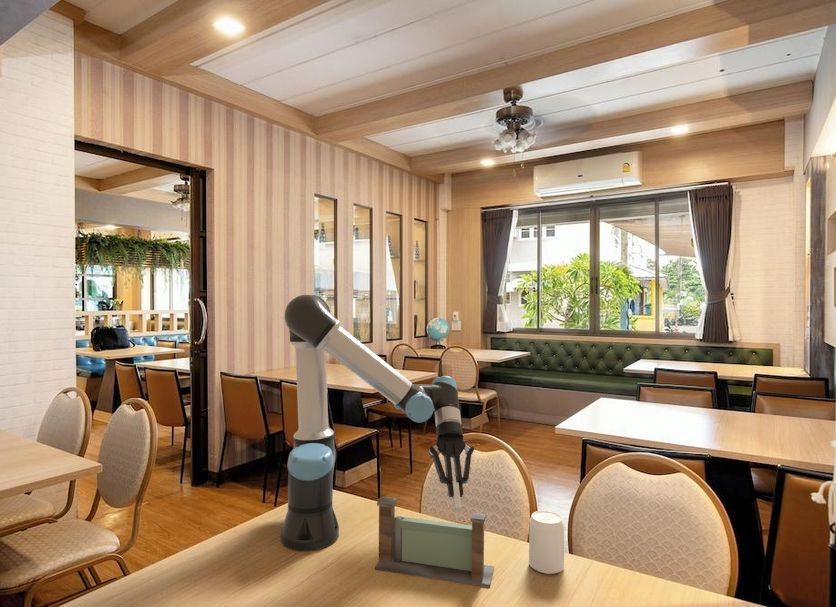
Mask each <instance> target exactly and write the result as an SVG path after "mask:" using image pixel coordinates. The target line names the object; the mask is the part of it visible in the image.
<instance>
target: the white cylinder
mask: <svg viewBox="0 0 836 607" xmlns="http://www.w3.org/2000/svg"><path fill="white" fill-rule="evenodd" d="M528 528H529V529H528V530H529V531H528V532H529V536H528V538H529V539H528V541H529V542H528V543H529V544H528V547H529V548H528V563H529V566H530V567H531V568H532V569H533V570H535V571H536V572H539V573H541V574H546V575H554V574H559V573H560V572H563V570H564V568H565V522H564V520H563V517H562V516H561V515H560V514H559V513H557V512H553V511H549V510H537V511H534V512H533V513H532V514H531V516H530V518H529V526H528Z"/></svg>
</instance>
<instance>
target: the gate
mask: <svg viewBox="0 0 836 607" xmlns="http://www.w3.org/2000/svg"><path fill="white" fill-rule="evenodd" d="M394 560H396V561H407V562H414V563H420V564H427V565H434V566H440V567H447V568H454V569H460V570H467V571H472V524H461V523H453V522H447V521H446V522H445V521H439V520H438V521H437V520H431V519H425V518H424V519H423V518H414V517H407V516H402V515H401V516H400V515H397V516H395V523H394Z"/></svg>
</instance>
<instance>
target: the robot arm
mask: <svg viewBox="0 0 836 607" xmlns="http://www.w3.org/2000/svg"><path fill="white" fill-rule="evenodd" d="M284 321H285V324H286V326H287V328H288V330H289V343H290V344H291V345H292V346H294V348H295V368H296V369H295V370H296V374H295V375H296V394H297V397H296V398H297V421H298V422H297V423H298V429H297V430H296V432H295V433H294V434H293V449H292V450H291V451H290V452H289V454H288V459H287V464H286V465H287V472H288V474H287V481H288V482H287V511H286V514H285V519H284V520H283V524H282V527H281V530H280V542H281V544H282V545H283V546H284V547H285V548H287V549H291V550H294V551H301V552H302V551H303V552H305V551H306V552H307V551H314V550H320V549H324V548H326V547H329V546H330V545H332V544H334V543H335V542H336V541H337V540H338V538H339V535H340V533H339V532H340V525H339V523H338V519H337V515H336V513H335V511H334V506H333V497H334V496H333V493H334V492H333V485H334V484H333V482H334V481H333V480H334V479H333V478H334V471H335V470H334V468H335V463H336V459H337V450H336V447H335V434H334V433H335V432H334V430H333V429H332V428H331V427H330V426H329V411H328V410H329V409H328V405H329V404H328V383H327V382H328V381H327V380H328V378H327V359H326V358H327V357H326V356H327V354H326V353H328V354H329V355H331V357H333V358H334V359H336V361H338V362H339V363H340V364H341V365H343V366H344V367H345V368H347V369H348V370H350V371H351V372H352V373H353V374H354V375H356V376H358V377H359V378H360V379H361V380H363V382H365V383H367V385H369V386H370V387H372V388H373V389H374V390H375V391H376V392H378V393H379V394H380V395H382V397H385V398H386V399H387V400H388V401H389V402H391V403H392V404H393V406H394V408H395V409H396V410H401V411H402V412H403V413H404V414H406V416H407V418H409V419H410V420H411V421H413V422H415V423H424V422H426V421H428V420H429V419H430V418H431V417H432V415H433V413H434V420H435V427H436V428H435V431H436V443H435V445H433V446H430V447H429V448H428V454H429V456H430V457H431V458H432V461H433V464H434V467H435V470H436V473H437V476H438V479H439V482H440V484H444V485H446V487H447V494H448V497H449V498H452V507H453V508H452V509H453V512H460V511H461V508H462V501H461V500H462V499H461V498H463V495H464V486H463V485H464V484H467V482H468V481H469V478H470V470H471V469H470V468H471V464H472V463H471V461H472V455H473V453H474V451H475V447H474V446H469V445H467V444H466V441H465V439H464V433H463V426H462V416H461V411H460V402H459V390H458V386H457V382H456V380H455V379H454V377H451V376H449V375H441V377H440V376H438V377H435V378H434V379H433V380H432V382H431V383H430V384H426V383H423V384H422V383H421V384H420V383H412V381H410V380H409V379H408V378H406V377H405V376H404V375H402V374H401V373H400V372H399V371H397V370H396V369H395V368H394V367H393V366H391V365H390V364H388V363H387V362H386V361H385V360H383V359H382V358H381V357H380V356H378V355H377V354H376V353H374V352H373V351H372V350H371V349H370V348H368V347H367V346H366V345H365V344H363V343H362V342H361V341H359V340H358V339H357V338H355V337H354V336H353V335H352V334H351V333H350V332H348V331H347V330H345V329H344V327H342V326H341V322H340V320H339V319H338V318H337V317H335V316H334V314H332V313H331V310H330V306H329V305H328V303H327V302H326V300H324V299H323V298H322V297H320V296H319V295H316V294H301V295H298V296H296V297H294V298H292V300H290V301H289V302H288V304H287V305H286V307H285V311H284ZM463 451H464V454H465V460H464V467H463V474H462V465H461V455H462V453H463ZM438 452H439V453H440V454H441V455H442V456H443V459H444V465H445V469H444V468H443V463H442V461H441V459H440V455H439V453H438ZM452 460H453V465H454V474H455V476H454V477H455V482H454V479H453V468H452ZM444 470H445V471H444Z"/></svg>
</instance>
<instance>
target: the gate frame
mask: <svg viewBox="0 0 836 607" xmlns="http://www.w3.org/2000/svg"><path fill="white" fill-rule="evenodd" d="M397 502H398V498H397V497H390V496H381V497H380V499H378V501H377V502H376V506H378V562H377V563H376V565H375V566H374V570H375V571H379V572H381V571H382V572H387V573H388V572H389V573H394V574H400V575H407V576H413V577H420V578H426V579H431V580H432V579H433V580H440V581H447V582H452V583H459V584H464V585H471V586H472V585H473V586H477V587H478V586H479V587H486V588H491V585H492V580H493V575H494V569H495V566H493V565H488V564H485V521H486V519H487V518H486V513H480V512H479V513H478V512H472V514H471V516H470V522H471V526H472V571H467V570H460V569H454V568H447V567H440V566H434V565H427V564H420V563H414V562H407V561H396V560H394V523H395V517H396V516H395V512H396V508H395V506H396V503H397Z"/></svg>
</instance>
